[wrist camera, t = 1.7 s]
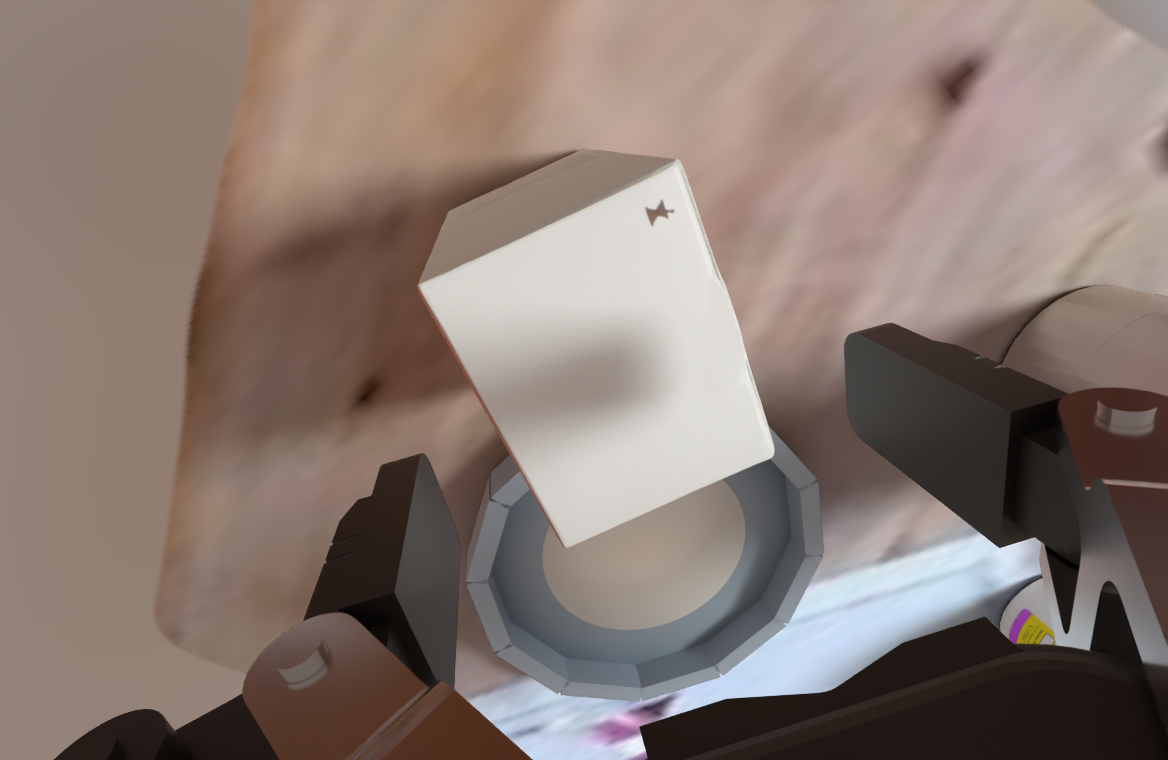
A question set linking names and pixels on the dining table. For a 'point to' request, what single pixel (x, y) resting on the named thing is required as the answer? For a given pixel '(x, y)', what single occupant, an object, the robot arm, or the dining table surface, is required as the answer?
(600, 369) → the small box
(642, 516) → the grey shallow round dish
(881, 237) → the dining table surface
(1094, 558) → the robot arm
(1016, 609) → the supplement bottle
